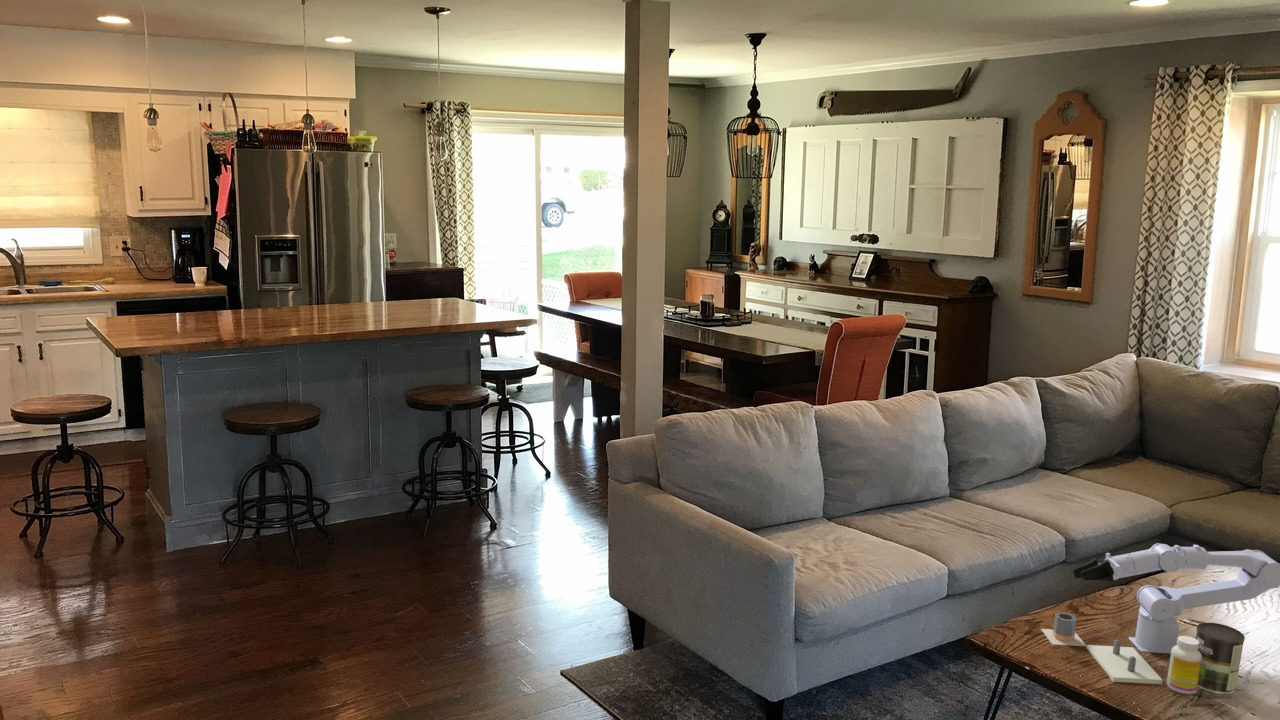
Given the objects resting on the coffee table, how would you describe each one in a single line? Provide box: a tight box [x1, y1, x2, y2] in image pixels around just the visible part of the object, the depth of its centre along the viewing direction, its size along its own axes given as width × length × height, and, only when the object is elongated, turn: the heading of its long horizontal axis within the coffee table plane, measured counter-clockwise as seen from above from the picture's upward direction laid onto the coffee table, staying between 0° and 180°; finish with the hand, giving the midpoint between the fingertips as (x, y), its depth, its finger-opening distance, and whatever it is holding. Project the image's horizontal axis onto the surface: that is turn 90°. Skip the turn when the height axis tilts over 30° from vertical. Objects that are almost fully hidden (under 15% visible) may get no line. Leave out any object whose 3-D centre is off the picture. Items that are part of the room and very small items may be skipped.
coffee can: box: [1195, 622, 1246, 696], centre depth 246 cm, size 10×10×14 cm
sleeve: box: [1052, 611, 1078, 642], centre depth 268 cm, size 5×5×6 cm
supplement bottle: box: [1166, 635, 1202, 695], centre depth 243 cm, size 7×7×13 cm
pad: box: [1040, 628, 1087, 647], centre depth 269 cm, size 9×9×1 cm
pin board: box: [1085, 639, 1163, 685], centre depth 254 cm, size 12×17×5 cm
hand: (1077, 575), depth 264 cm, fingers open, 7 cm apart
